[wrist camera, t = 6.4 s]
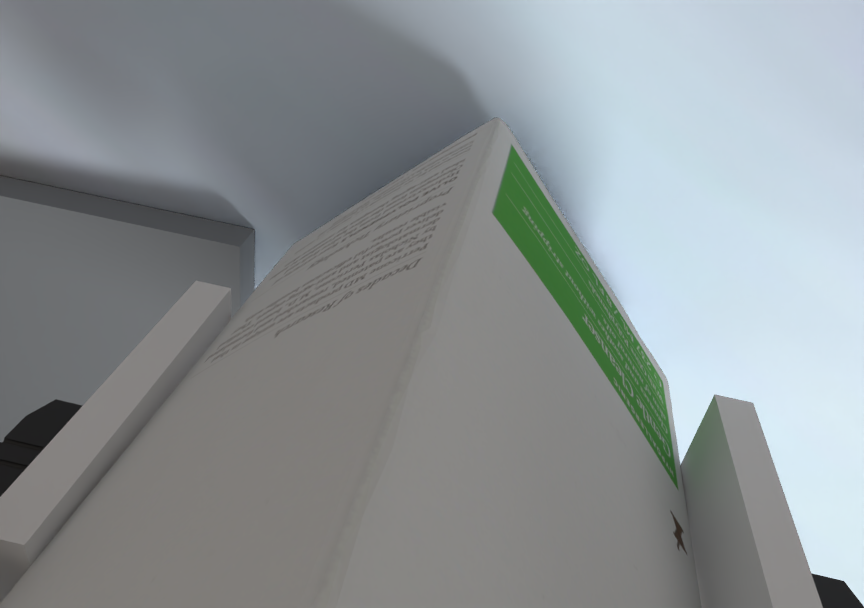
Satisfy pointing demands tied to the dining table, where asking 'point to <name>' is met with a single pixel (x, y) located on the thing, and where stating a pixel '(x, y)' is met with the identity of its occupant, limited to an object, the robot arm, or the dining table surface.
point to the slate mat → (95, 286)
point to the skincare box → (402, 427)
